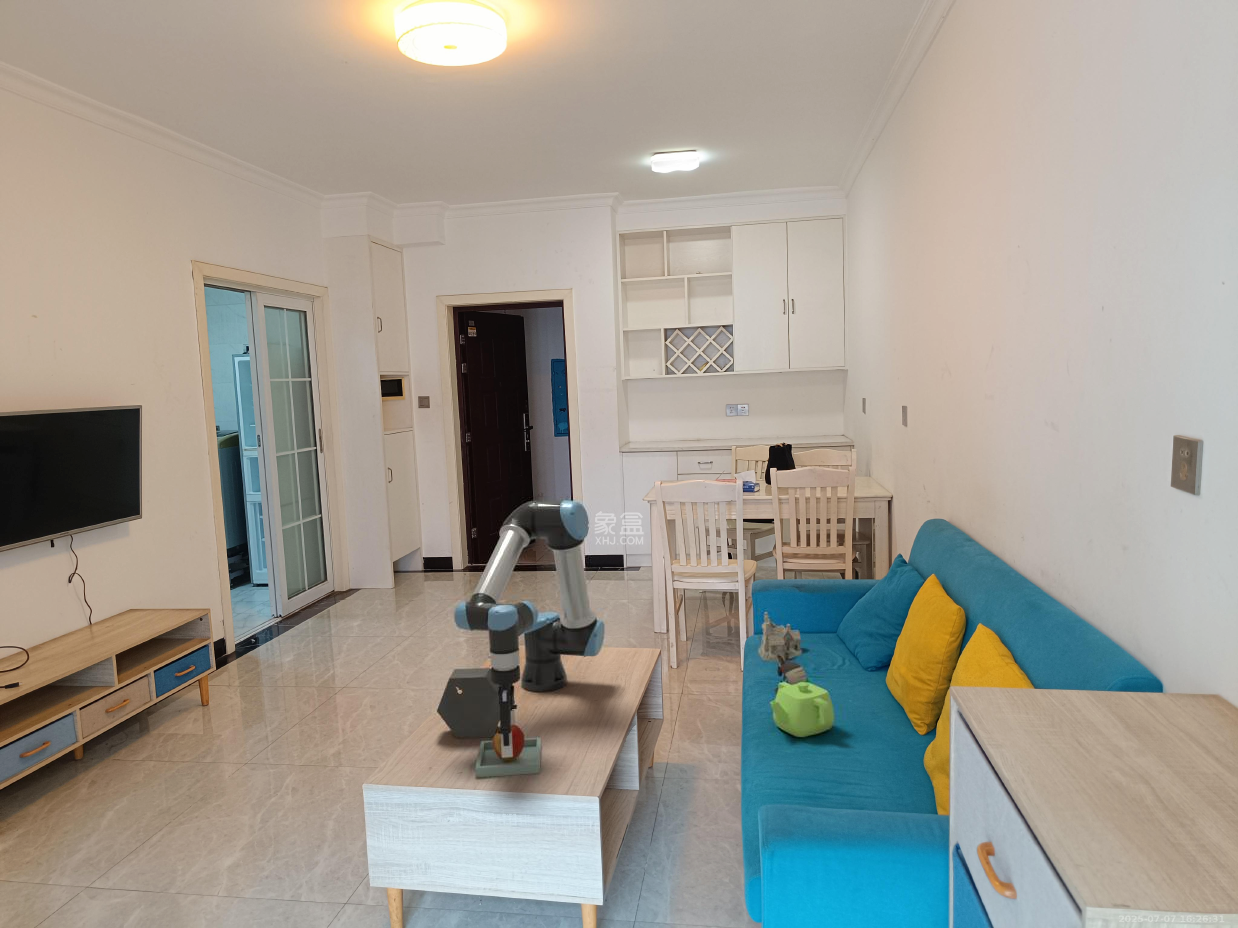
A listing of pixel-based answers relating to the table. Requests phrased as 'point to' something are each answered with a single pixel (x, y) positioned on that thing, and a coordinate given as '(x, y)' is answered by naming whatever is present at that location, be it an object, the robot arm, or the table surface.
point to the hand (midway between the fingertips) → (509, 745)
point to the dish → (522, 764)
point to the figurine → (791, 671)
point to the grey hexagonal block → (471, 703)
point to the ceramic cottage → (778, 641)
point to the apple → (516, 743)
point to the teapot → (802, 709)
